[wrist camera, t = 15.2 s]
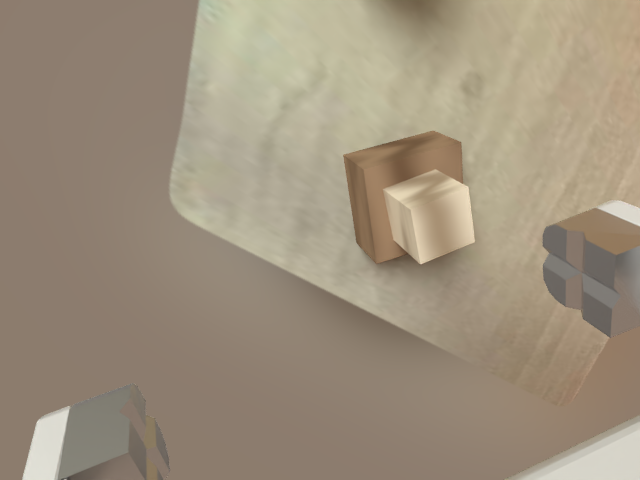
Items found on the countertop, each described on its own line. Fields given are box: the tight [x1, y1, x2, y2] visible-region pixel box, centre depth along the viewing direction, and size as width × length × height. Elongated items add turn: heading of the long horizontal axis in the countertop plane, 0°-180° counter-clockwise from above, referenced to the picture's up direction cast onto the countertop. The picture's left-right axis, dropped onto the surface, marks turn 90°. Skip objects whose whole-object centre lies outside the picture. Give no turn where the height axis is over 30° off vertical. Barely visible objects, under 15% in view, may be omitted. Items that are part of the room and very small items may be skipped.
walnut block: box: [343, 131, 463, 264], centre depth 46 cm, size 9×9×5 cm
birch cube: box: [383, 169, 475, 264], centre depth 42 cm, size 5×5×5 cm
